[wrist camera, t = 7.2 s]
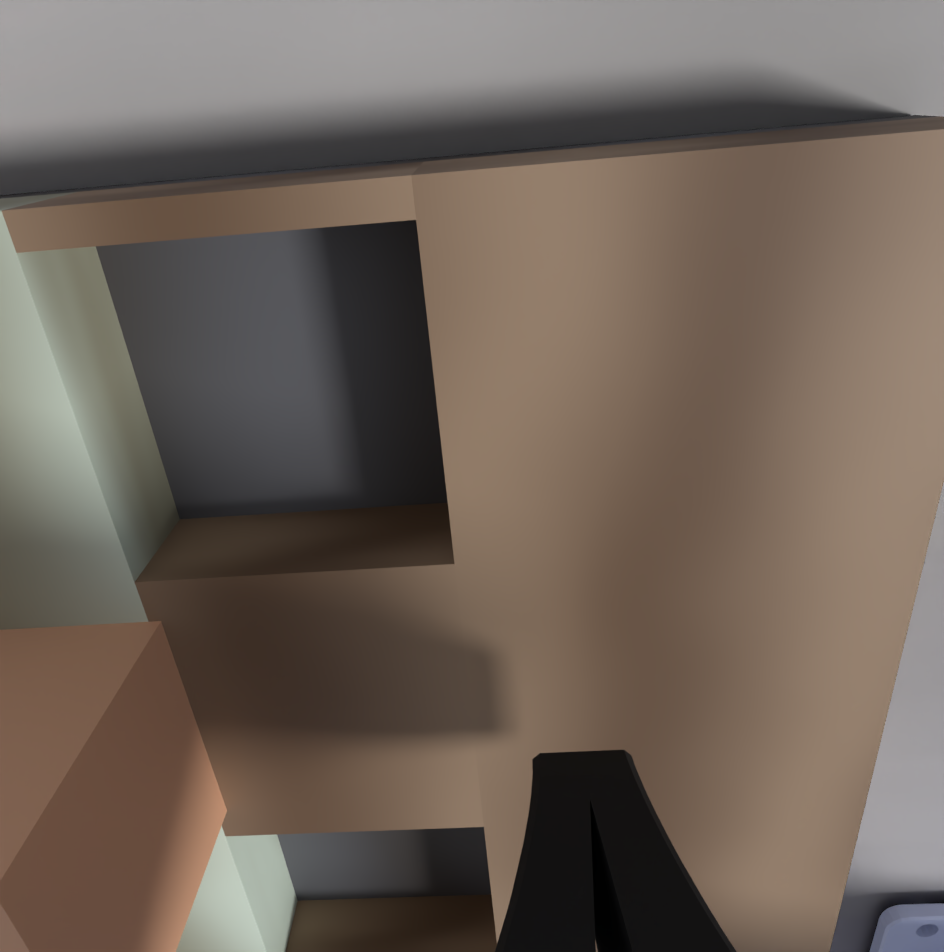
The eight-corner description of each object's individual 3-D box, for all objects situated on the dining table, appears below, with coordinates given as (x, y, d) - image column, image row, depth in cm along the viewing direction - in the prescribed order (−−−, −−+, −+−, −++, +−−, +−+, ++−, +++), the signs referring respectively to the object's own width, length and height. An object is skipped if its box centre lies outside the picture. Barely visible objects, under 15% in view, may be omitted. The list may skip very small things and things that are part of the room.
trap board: (915, 115, 10) (1031, 122, 8) (781, 874, 18) (822, 982, 16) (-153, 208, 11) (-309, 237, 9) (155, 894, 19) (112, 1000, 17)
